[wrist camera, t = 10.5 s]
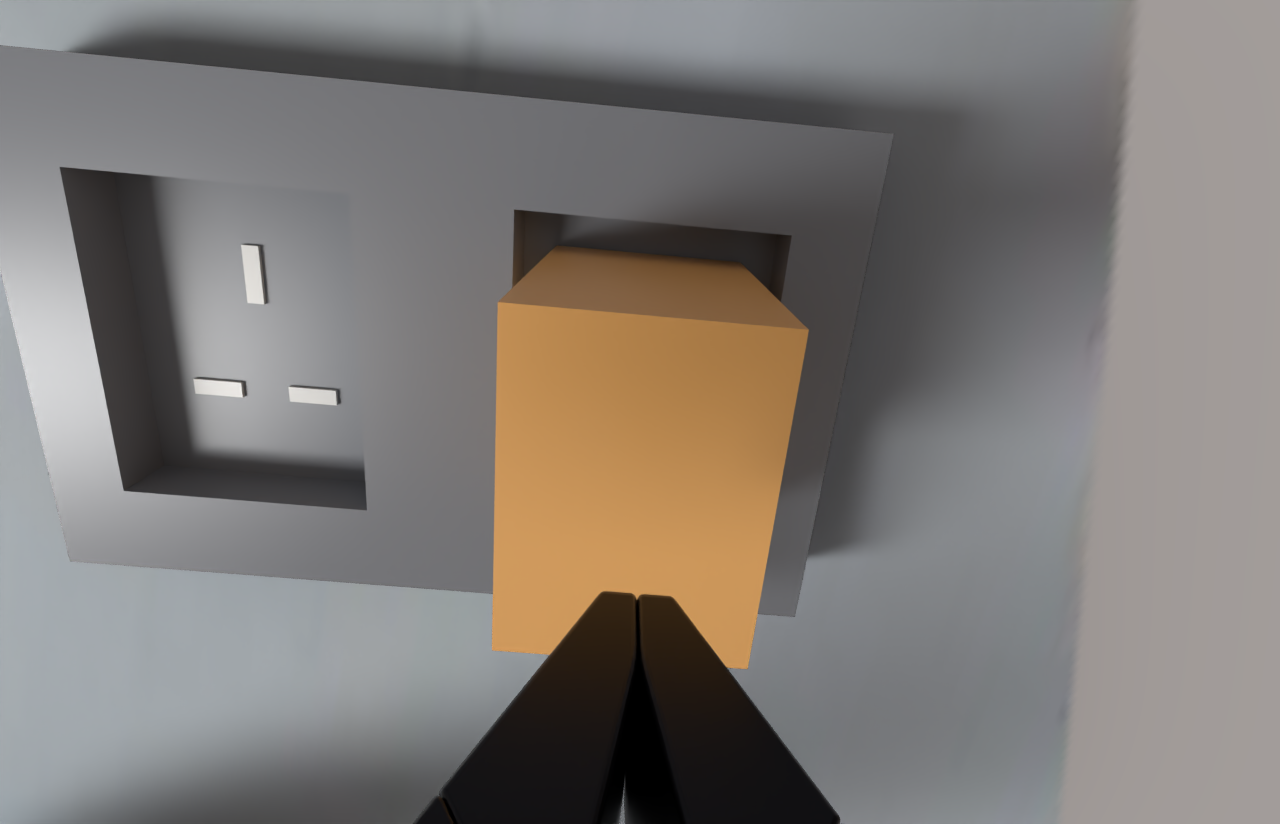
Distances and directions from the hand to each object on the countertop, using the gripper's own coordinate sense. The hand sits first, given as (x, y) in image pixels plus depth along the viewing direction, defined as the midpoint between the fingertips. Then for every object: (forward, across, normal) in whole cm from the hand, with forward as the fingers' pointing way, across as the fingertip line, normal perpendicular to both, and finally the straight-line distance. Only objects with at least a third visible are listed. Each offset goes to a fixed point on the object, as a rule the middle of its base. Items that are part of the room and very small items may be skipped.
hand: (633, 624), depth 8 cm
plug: (+10, 0, +1) cm, 10 cm away
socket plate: (+11, +5, 0) cm, 12 cm away
